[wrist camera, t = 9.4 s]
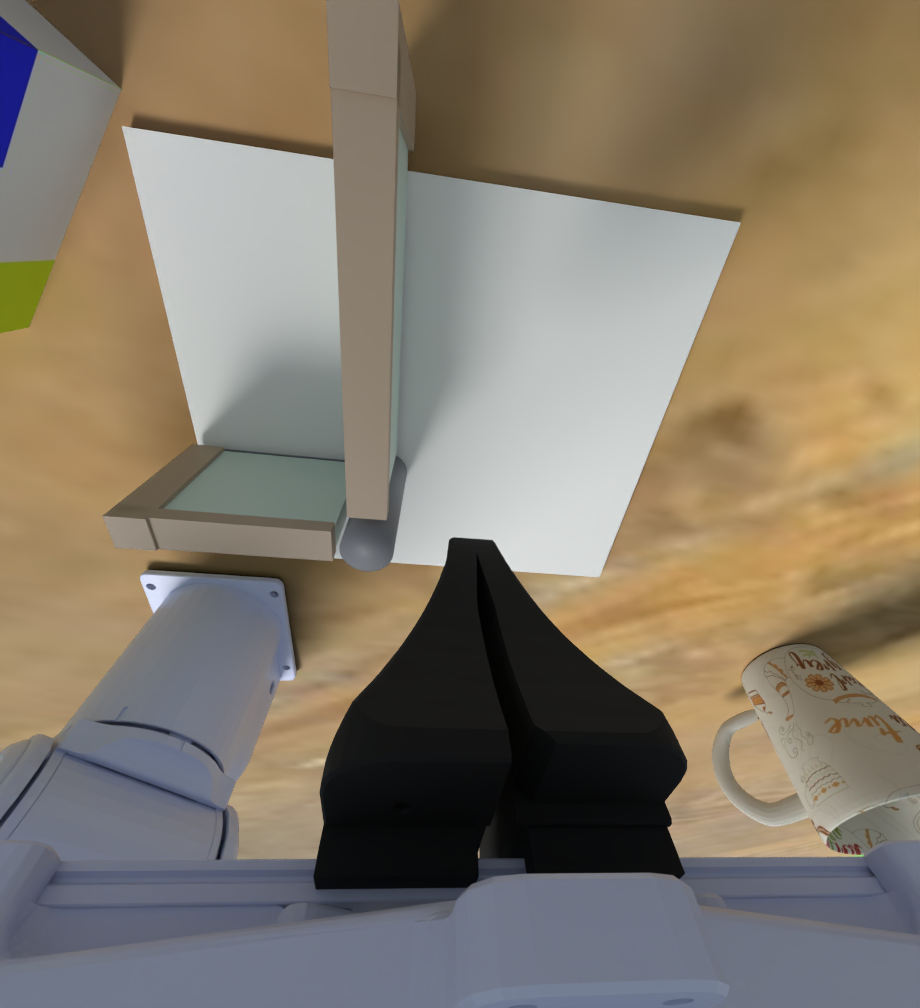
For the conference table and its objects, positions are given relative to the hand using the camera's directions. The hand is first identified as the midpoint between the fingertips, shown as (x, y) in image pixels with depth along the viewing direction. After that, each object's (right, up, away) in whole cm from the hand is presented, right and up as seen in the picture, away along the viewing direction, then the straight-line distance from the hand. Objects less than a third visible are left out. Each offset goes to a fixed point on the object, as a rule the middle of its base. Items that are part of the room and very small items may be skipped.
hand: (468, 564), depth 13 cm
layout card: (-2, +6, +7) cm, 9 cm away
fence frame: (-8, +4, +8) cm, 12 cm away
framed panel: (-3, +10, +4) cm, 11 cm away
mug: (+23, -12, +20) cm, 32 cm away
